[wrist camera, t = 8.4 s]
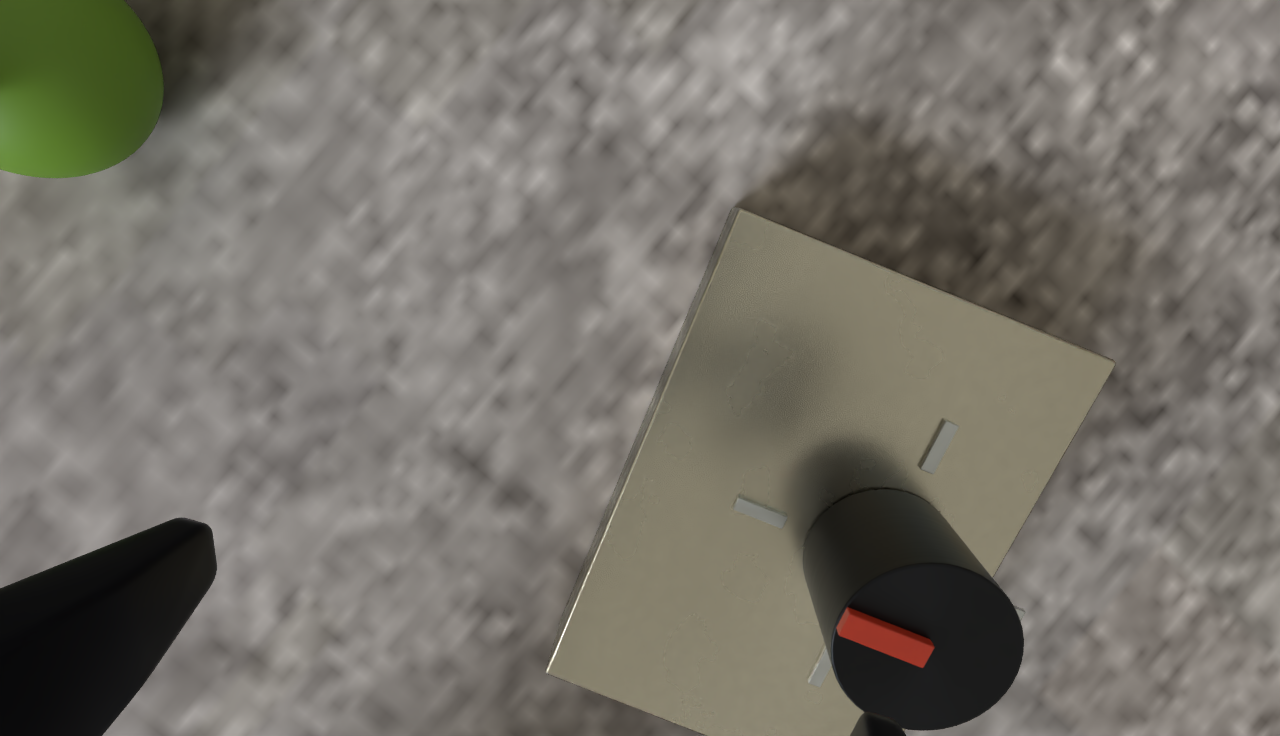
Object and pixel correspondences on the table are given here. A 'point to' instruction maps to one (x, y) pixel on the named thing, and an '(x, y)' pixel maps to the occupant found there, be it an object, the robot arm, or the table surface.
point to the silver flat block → (802, 473)
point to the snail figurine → (74, 86)
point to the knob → (909, 612)
